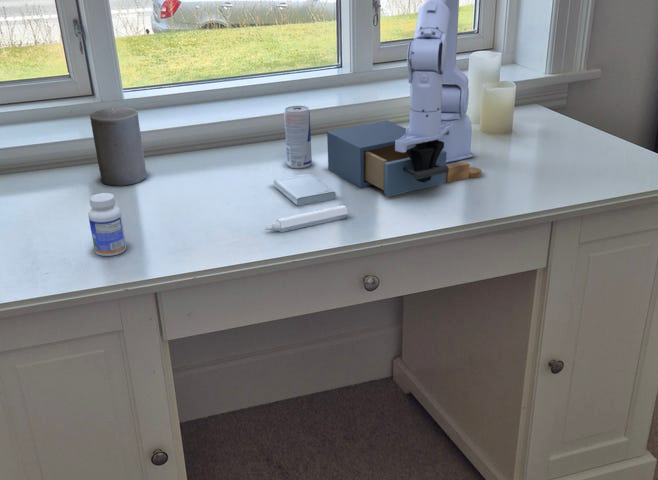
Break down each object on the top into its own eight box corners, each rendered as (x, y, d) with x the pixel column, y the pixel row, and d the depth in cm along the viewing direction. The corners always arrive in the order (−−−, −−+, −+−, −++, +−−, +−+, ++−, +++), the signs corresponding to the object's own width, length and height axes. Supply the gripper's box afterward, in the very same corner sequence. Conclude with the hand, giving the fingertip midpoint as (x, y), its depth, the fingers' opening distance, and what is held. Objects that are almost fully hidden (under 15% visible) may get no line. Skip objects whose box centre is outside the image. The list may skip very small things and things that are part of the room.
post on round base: (449, 183, 165) (450, 169, 164) (439, 179, 168) (440, 164, 166) (484, 175, 168) (485, 161, 167) (474, 171, 171) (475, 157, 169)
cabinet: (421, 174, 171) (422, 135, 166) (360, 187, 165) (360, 147, 161) (386, 157, 181) (387, 120, 177) (328, 169, 175) (327, 131, 171)
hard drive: (335, 191, 159) (310, 172, 169) (296, 198, 157) (273, 178, 166) (336, 199, 160) (311, 180, 170) (296, 206, 158) (273, 186, 167)
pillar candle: (91, 183, 173) (78, 111, 165) (118, 169, 181) (106, 99, 173) (131, 188, 170) (119, 114, 162) (156, 173, 177) (146, 102, 170)
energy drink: (313, 160, 181) (310, 105, 174) (310, 168, 176) (308, 112, 170) (288, 161, 181) (285, 105, 175) (285, 168, 177) (282, 112, 170)
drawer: (461, 191, 159) (463, 158, 156) (402, 204, 154) (403, 172, 150) (410, 166, 172) (411, 136, 169) (354, 178, 167) (354, 147, 164)
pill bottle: (97, 245, 145) (87, 192, 140) (128, 243, 145) (119, 190, 140) (92, 258, 140) (82, 203, 135) (125, 255, 140) (115, 201, 135)
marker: (264, 237, 147) (344, 219, 153) (268, 235, 145) (348, 216, 151) (260, 223, 147) (340, 205, 152) (264, 221, 145) (345, 202, 150)
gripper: (433, 96, 157) (431, 166, 164) (382, 113, 149) (382, 185, 156) (463, 102, 153) (459, 173, 160) (412, 119, 144) (411, 194, 151)
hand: (423, 180), depth 157 cm, fingers closed, pressing on drawer
